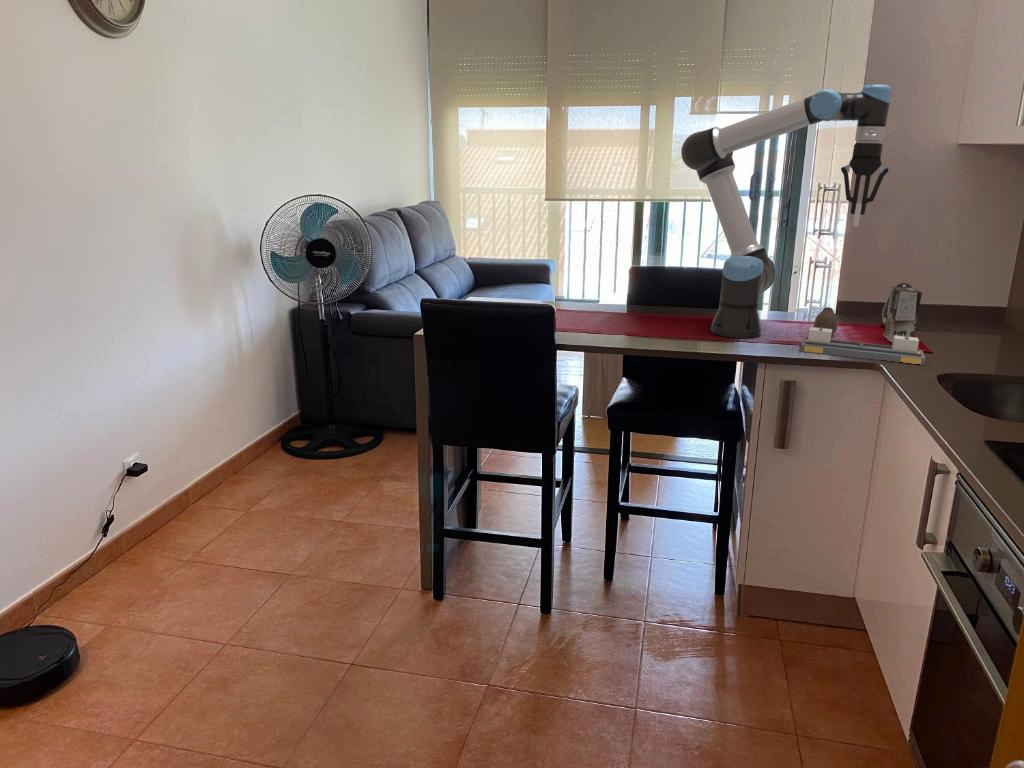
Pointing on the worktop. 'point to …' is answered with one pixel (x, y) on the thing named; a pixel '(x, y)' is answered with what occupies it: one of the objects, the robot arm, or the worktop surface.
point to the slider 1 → (819, 335)
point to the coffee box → (902, 312)
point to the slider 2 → (905, 344)
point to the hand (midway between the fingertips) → (855, 225)
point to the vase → (826, 320)
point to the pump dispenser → (885, 309)
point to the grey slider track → (862, 351)
